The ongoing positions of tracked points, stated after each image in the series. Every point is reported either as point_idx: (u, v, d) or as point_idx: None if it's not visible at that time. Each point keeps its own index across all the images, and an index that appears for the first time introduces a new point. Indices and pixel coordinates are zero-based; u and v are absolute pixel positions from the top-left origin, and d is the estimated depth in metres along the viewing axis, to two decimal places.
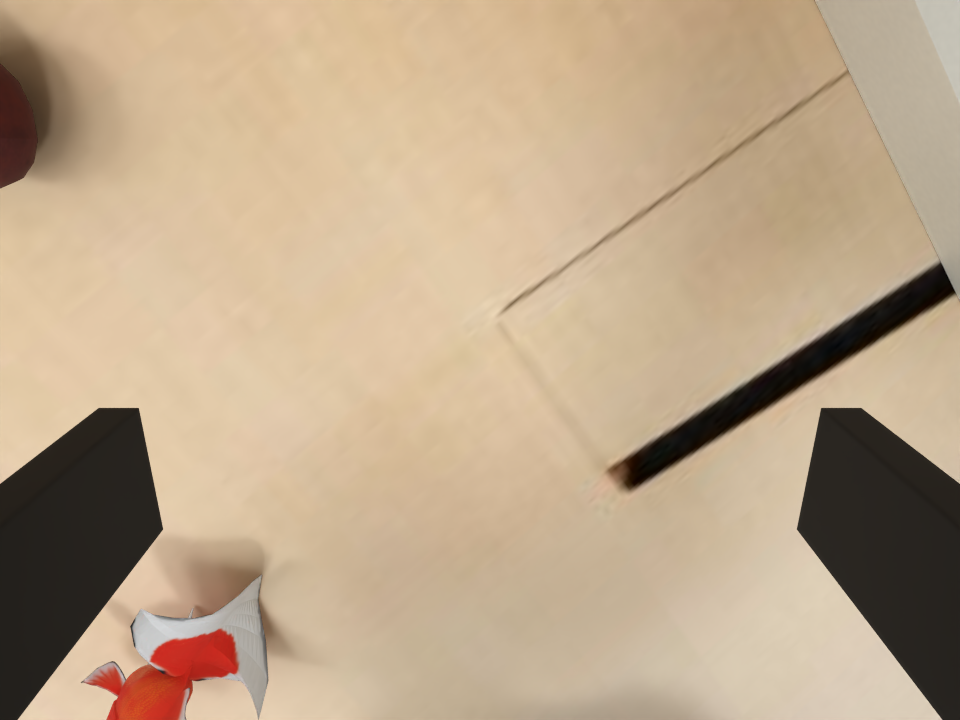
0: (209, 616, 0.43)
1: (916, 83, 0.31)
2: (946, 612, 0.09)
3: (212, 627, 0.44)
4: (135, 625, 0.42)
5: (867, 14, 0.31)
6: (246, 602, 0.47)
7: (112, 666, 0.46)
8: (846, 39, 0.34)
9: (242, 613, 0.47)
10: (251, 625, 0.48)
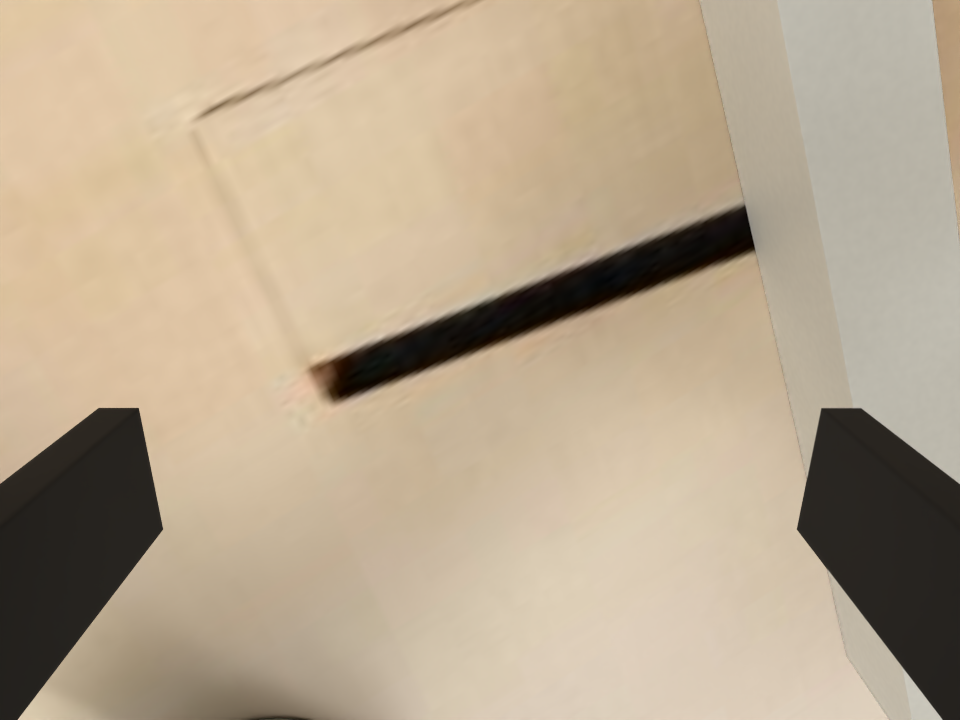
0: None
1: None
2: (946, 611, 0.09)
3: None
4: None
5: None
6: None
7: None
8: None
9: None
10: None
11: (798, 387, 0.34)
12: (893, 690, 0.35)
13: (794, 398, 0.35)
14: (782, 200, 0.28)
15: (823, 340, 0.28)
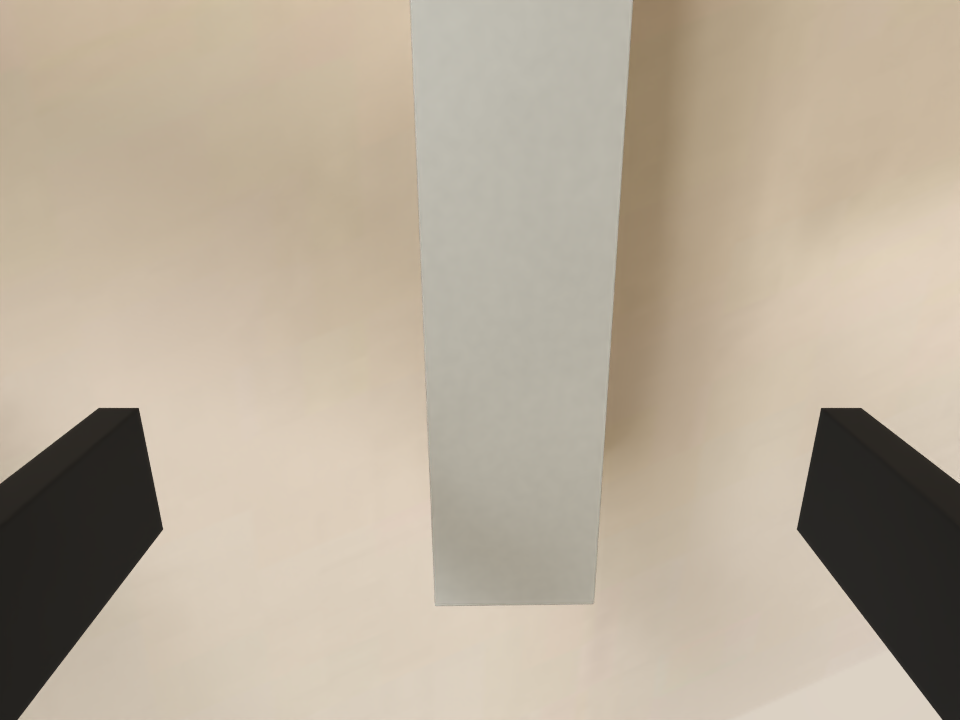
0: None
1: None
2: (946, 611, 0.09)
3: None
4: None
5: None
6: None
7: None
8: None
9: None
10: None
11: None
12: None
13: None
14: None
15: None
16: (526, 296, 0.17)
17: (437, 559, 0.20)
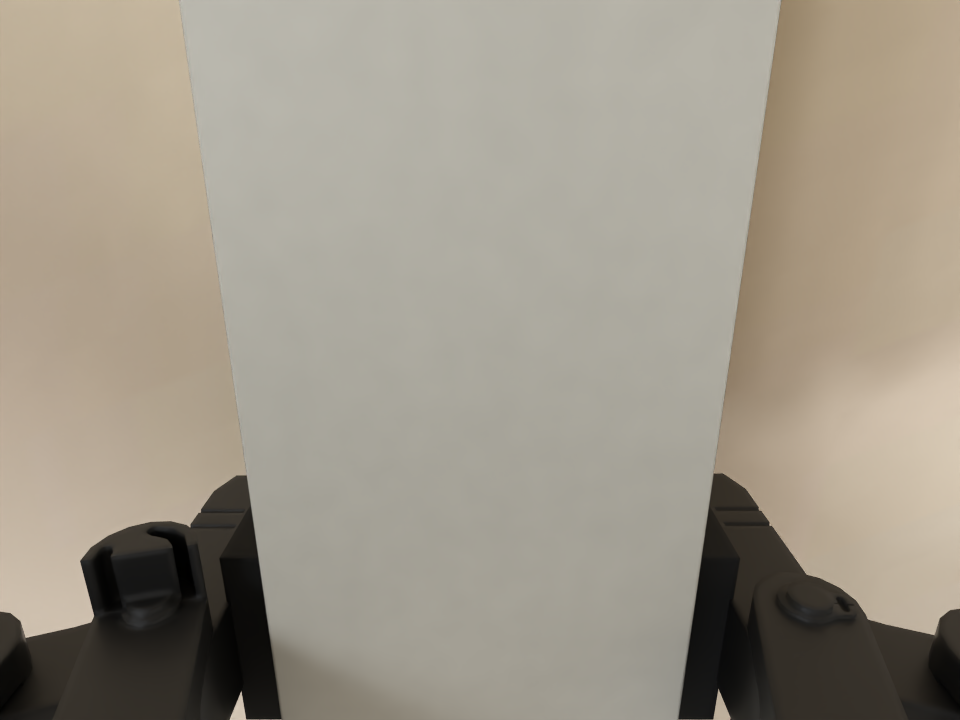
0: None
1: None
2: None
3: None
4: None
5: None
6: None
7: None
8: None
9: None
10: None
11: None
12: None
13: None
14: None
15: None
16: (500, 352, 0.06)
17: None
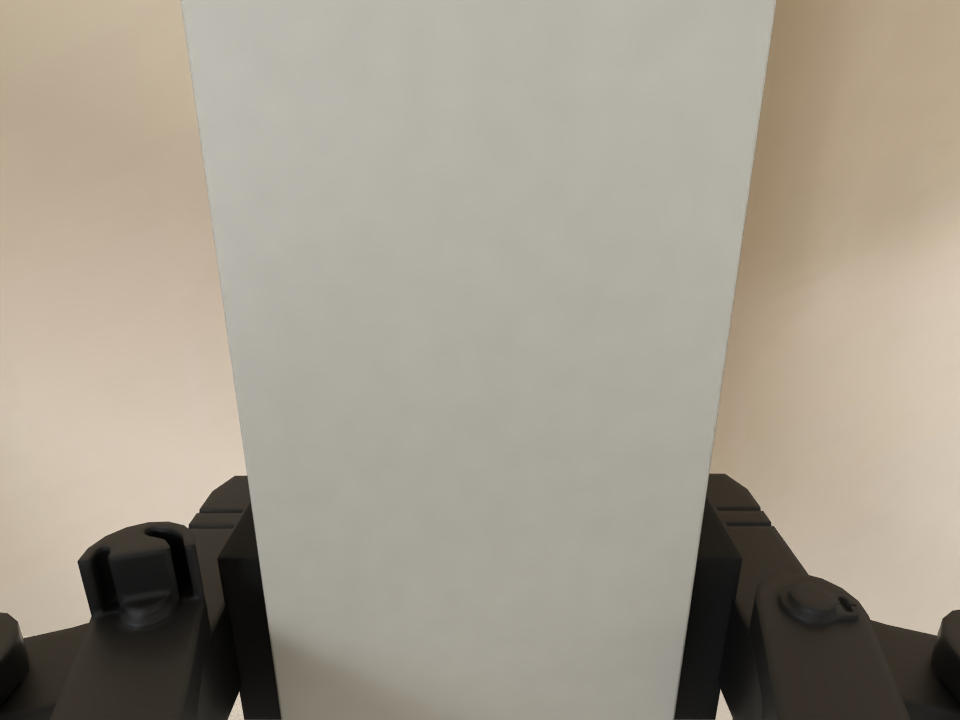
0: None
1: None
2: None
3: None
4: None
5: None
6: None
7: None
8: None
9: None
10: None
11: None
12: None
13: None
14: None
15: None
16: (497, 350, 0.07)
17: None
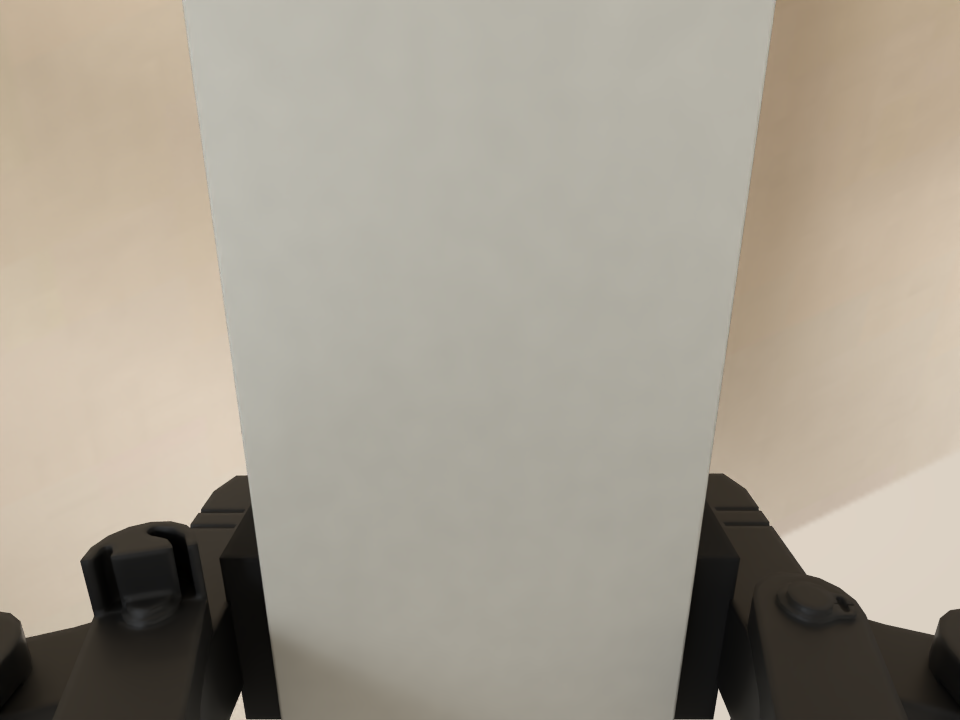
0: None
1: None
2: None
3: None
4: None
5: None
6: None
7: None
8: None
9: None
10: None
11: None
12: None
13: None
14: None
15: None
16: (499, 350, 0.07)
17: None
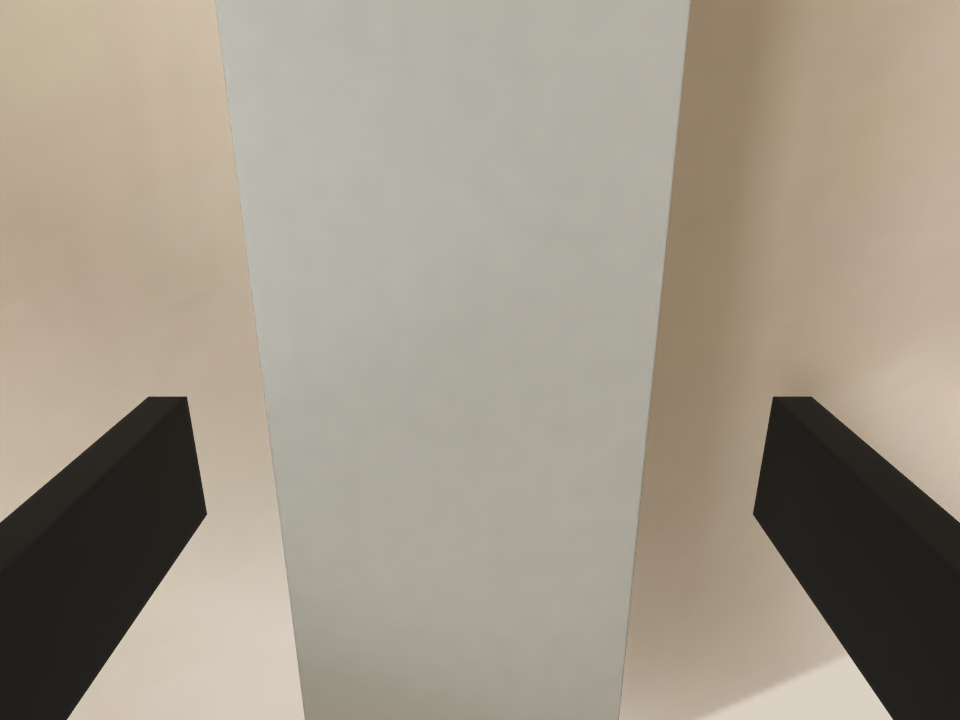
0: None
1: None
2: (875, 585, 0.10)
3: None
4: None
5: None
6: None
7: None
8: None
9: None
10: None
11: None
12: None
13: None
14: None
15: None
16: (472, 274, 0.08)
17: None
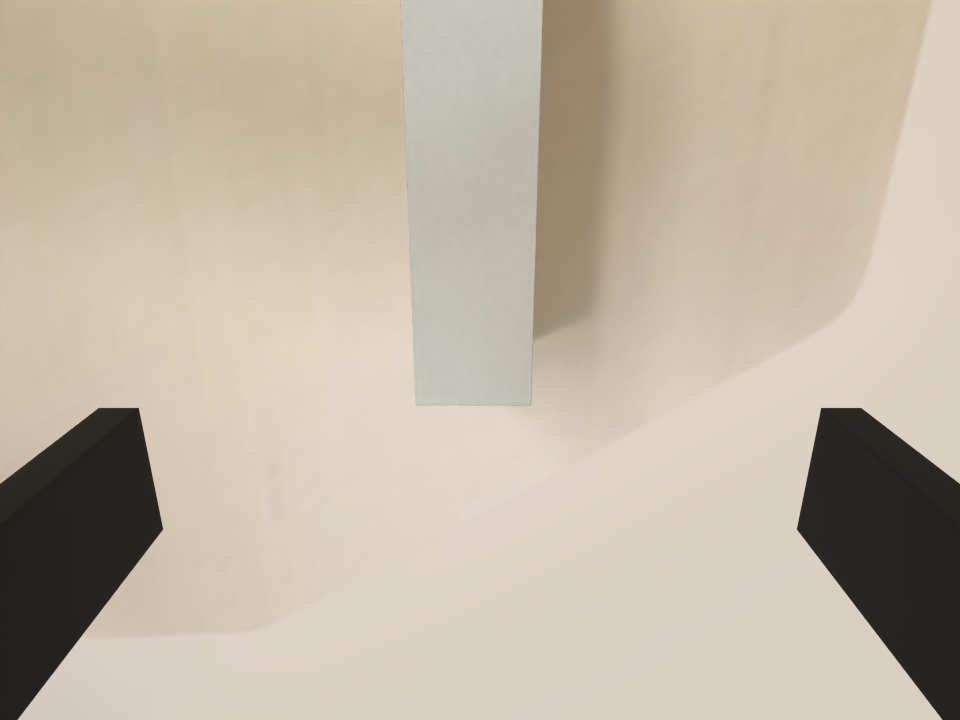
0: None
1: None
2: (947, 612, 0.09)
3: None
4: None
5: None
6: None
7: None
8: None
9: None
10: None
11: None
12: None
13: None
14: None
15: None
16: (477, 165, 0.25)
17: (417, 367, 0.28)
